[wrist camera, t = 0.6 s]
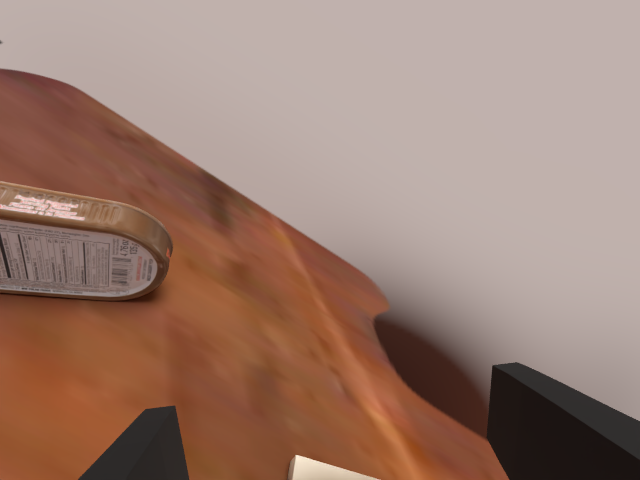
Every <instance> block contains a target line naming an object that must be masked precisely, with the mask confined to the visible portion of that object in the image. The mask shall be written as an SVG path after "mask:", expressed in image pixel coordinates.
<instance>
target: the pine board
mask: <svg viewBox="0 0 640 480" xmlns="http://www.w3.org/2000/svg"><path fill="white" fill-rule="evenodd" d="M287 480H379V479H376V478H372V477H369V476H366V475H362V474H359V473H355V472H352V471H349V470H345V469H342V468H339V467H335V466H332V465H328V464H325V463H322V462H318V461H315V460H312V459H308V458H305V457H302V456H298V455H296V456H295V457H294V458H293V459H292V460H291V462H290V466H289V472H288V479H287Z"/></svg>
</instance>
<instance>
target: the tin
mask: <svg viewBox="0 0 640 480" xmlns="http://www.w3.org/2000/svg"><path fill="white" fill-rule="evenodd" d="M172 251H173V243H172V239H171V236H170V234H169V232H168V231H167V229H166V228H165V226H164V225H163V224H162V223H161V222H160V221H158V220H157V219H156V218H155V217H153V216H152V215H150V214H149V213H147V212H145V211H143V210H141V209H139V208H137V207H134V206H131V205H128V204H125V203H121V202H116V201H111V200H105V199H99V198H93V197H87V196H82V195H76V194H70V193H64V192H58V191H52V190H47V189H41V188H35V187H30V186H25V185H19V184H13V183H8V182H3V181H0V293H11V294H24V295H38V296H50V297H64V298H77V299H91V300H104V301H119V300H128V299H133V298H138V297H141V296H143V295H146V294H148V293H150V292H152V291H153V290H155V289H156V288H157V287H158V286H159V285H160V284H161V283H162V281H163V280H164V278H165V277H166V275H167V272H168V268H169V261H170V257H171V255H172Z"/></svg>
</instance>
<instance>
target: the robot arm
mask: <svg viewBox="0 0 640 480" xmlns="http://www.w3.org/2000/svg"><path fill="white" fill-rule="evenodd" d="M487 439H488V441H489V443H490V445H491V447H492V448H493V450H494V452H495V454H496V456H497V458H498V460H499V462H500V464H501V465H502V467H503V469H504V471H505V472H506V474H507V476H508V478H509V479H510V480H640V421H638V420H636V419H634V418H632V417H629V416H627V415H625V414H623V413H621V412H619V411H617V410H615V409H613V408H611V407H609V406H607V405H605V404H603V403H601V402H599V401H597V400H595V399H593V398H591V397H589V396H587V395H585V394H583V393H581V392H579V391H577V390H575V389H573V388H571V387H569V386H567V385H565V384H563V383H561V382H559V381H557V380H554V379H553V378H551V377H549V376H546V375H544V374H542V373H540V372H538V371H536V370H534V369H532V368H529V367H527V366H525V365H522V364H520V363H517V362H515V363H508V364H500V365H493V366H492V378H491V391H490V403H489V415H488V428H487ZM78 480H189V476H188V470H187V465H186V460H185V455H184V449H183V444H182V439H181V434H180V429H179V423H178V418H177V413H176V408H175V406H168V407H160V408H152V409H145V410H144V411H143V412H142V413H141V414H140V415H139V416H138V417H137V418H136V419H135V420H134V422H133V423H132V424H131V425H130V426H129V427H128V428H127V429H126V430H125V431H124V432H123V433H122V434H121V435H120V436H119V437H118V438H117V439H116V440H115V442H114V443H113V444H112V445H111V446H110V447H109V448H108V449H107V450H106V451H105V452H104V453H103V454H102V455H101V456H100V457H99V458H98V459H97V460H96V461H95V463H94V464H93V465H92V466H91V467H90V468H89V469H88V470H87V471H86V472H85V473H84V474H83V475H82V476H81V477H80V478H79V479H78Z"/></svg>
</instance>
